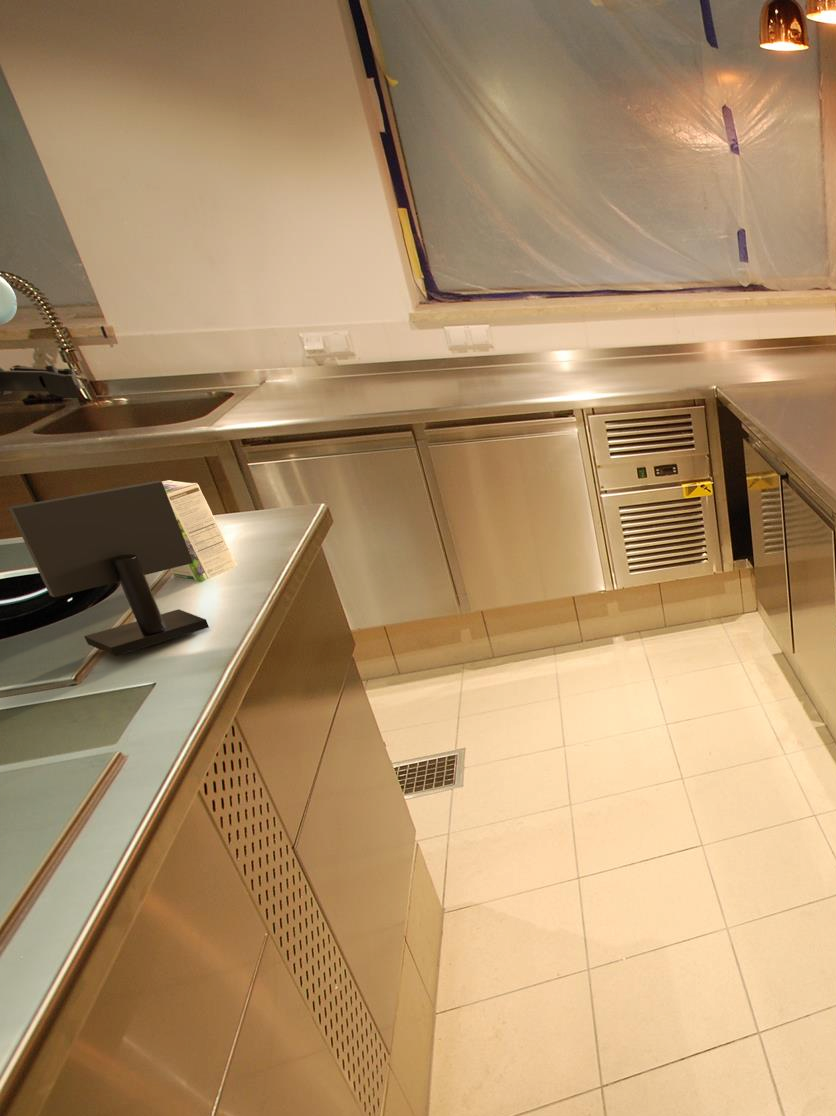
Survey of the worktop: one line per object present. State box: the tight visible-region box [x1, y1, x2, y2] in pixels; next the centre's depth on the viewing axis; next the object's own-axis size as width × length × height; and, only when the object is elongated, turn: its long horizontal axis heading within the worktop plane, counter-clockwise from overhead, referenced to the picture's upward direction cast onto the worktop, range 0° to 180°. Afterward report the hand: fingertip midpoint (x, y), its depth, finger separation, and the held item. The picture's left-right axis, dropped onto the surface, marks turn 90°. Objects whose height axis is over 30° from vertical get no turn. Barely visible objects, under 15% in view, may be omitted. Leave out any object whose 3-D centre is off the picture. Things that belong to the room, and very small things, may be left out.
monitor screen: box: [8, 480, 193, 598], centre depth 104 cm, size 14×1×11 cm, turn 153°
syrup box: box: [161, 479, 238, 583], centre depth 124 cm, size 6×6×14 cm
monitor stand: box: [83, 554, 210, 657], centre depth 107 cm, size 10×7×11 cm
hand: (11, 392), depth 100 cm, fingers open, 10 cm apart
